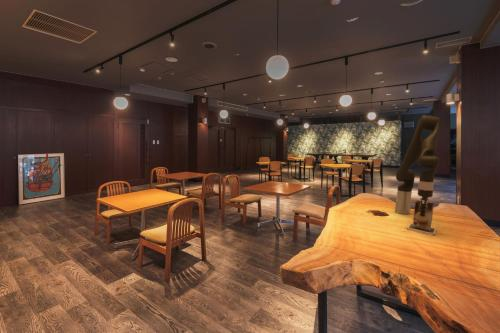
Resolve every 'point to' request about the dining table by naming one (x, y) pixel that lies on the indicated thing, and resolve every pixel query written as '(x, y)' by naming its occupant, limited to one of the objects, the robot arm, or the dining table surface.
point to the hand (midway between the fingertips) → (422, 214)
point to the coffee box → (420, 220)
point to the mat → (421, 230)
